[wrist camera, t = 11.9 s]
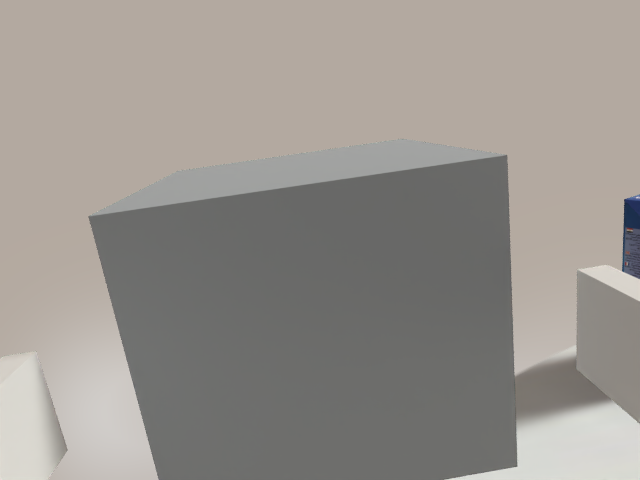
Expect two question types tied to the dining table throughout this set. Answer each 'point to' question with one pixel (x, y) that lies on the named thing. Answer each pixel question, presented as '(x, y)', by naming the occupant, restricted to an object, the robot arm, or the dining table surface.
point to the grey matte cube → (320, 314)
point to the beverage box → (631, 237)
